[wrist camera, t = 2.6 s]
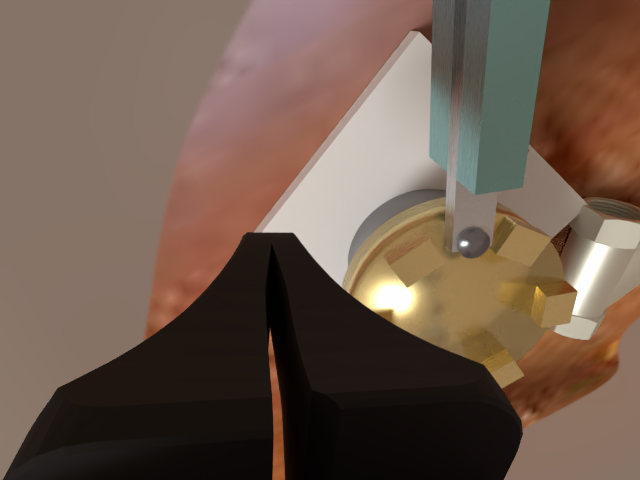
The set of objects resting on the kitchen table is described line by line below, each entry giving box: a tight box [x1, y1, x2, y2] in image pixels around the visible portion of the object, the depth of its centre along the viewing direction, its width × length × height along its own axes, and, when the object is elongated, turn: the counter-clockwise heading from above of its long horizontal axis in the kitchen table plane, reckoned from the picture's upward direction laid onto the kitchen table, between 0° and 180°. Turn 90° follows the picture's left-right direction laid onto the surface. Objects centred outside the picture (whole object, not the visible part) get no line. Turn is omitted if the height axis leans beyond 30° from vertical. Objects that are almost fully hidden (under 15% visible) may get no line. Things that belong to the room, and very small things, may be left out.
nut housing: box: [254, 31, 588, 287], centre depth 22 cm, size 16×14×4 cm
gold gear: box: [342, 0, 578, 389], centre depth 16 cm, size 18×10×4 cm, turn 6°
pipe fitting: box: [549, 197, 640, 340], centre depth 25 cm, size 8×4×7 cm
